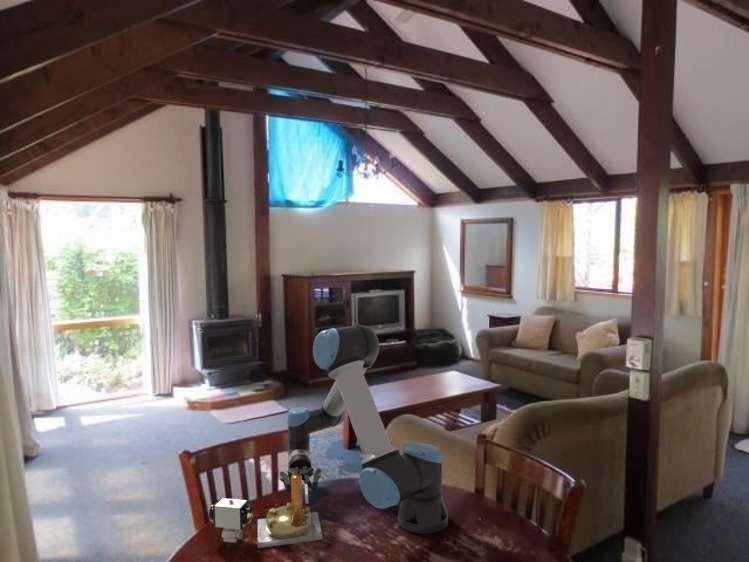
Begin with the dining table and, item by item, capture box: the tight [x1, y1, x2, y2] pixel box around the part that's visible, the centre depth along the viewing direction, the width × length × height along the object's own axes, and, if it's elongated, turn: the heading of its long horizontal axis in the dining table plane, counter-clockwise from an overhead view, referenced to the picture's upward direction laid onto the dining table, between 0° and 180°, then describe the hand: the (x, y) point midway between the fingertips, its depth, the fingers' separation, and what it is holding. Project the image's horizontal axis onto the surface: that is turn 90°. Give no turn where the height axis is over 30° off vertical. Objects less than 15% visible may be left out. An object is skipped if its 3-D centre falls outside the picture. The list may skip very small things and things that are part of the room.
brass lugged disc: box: [266, 474, 312, 538], centre depth 152 cm, size 14×13×17 cm
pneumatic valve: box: [208, 497, 255, 544], centre depth 149 cm, size 6×12×12 cm, turn 78°
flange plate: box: [257, 511, 323, 549], centre depth 153 cm, size 18×13×2 cm
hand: (302, 499), depth 150 cm, fingers open, 2 cm apart
